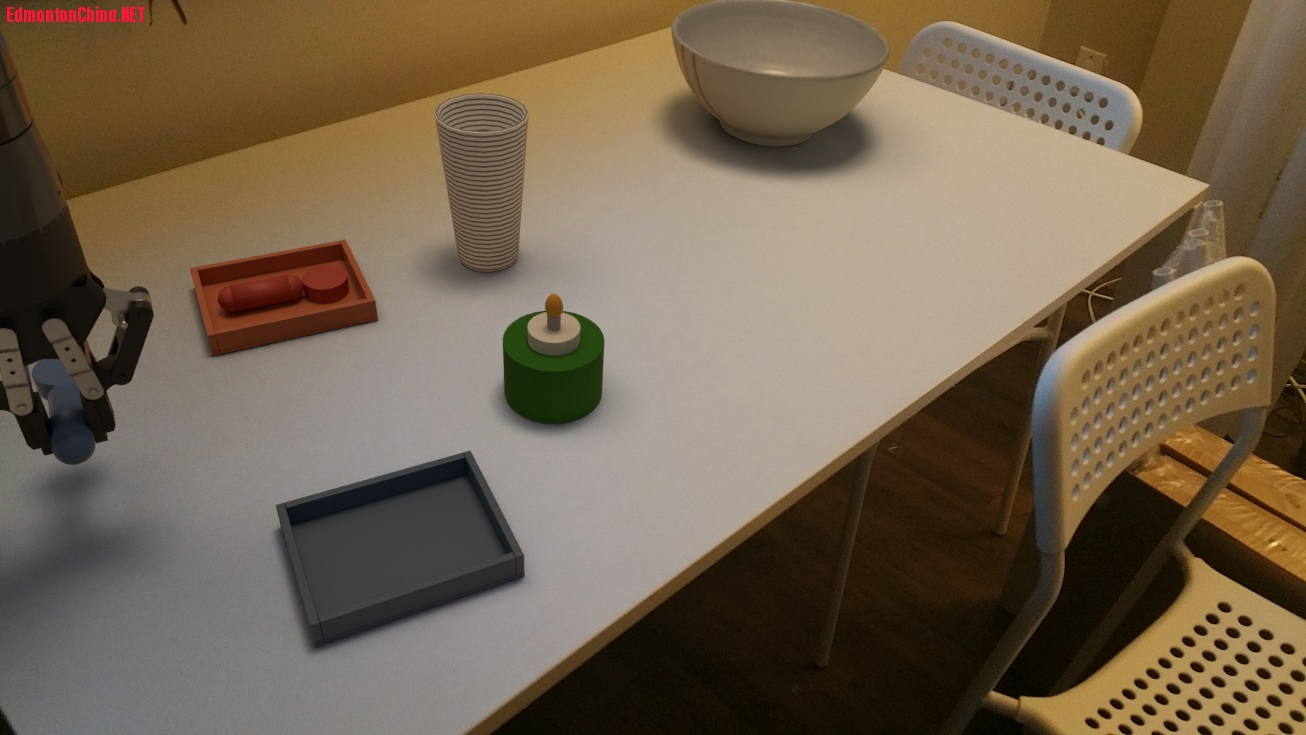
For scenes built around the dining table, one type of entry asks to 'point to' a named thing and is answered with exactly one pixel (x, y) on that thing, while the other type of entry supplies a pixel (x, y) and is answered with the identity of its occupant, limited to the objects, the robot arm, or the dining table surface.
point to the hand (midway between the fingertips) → (76, 439)
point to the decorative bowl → (776, 65)
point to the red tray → (288, 316)
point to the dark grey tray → (397, 545)
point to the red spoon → (286, 289)
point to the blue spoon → (64, 412)
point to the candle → (553, 364)
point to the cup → (484, 175)
